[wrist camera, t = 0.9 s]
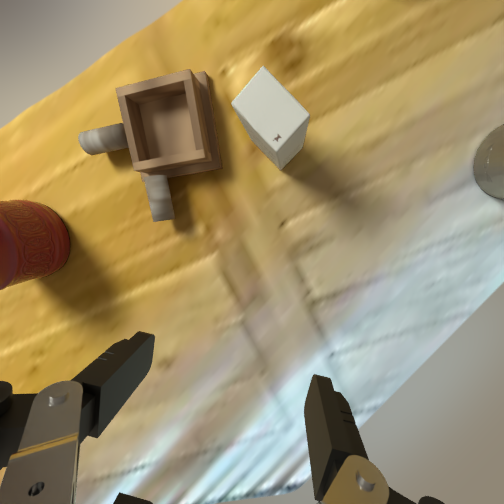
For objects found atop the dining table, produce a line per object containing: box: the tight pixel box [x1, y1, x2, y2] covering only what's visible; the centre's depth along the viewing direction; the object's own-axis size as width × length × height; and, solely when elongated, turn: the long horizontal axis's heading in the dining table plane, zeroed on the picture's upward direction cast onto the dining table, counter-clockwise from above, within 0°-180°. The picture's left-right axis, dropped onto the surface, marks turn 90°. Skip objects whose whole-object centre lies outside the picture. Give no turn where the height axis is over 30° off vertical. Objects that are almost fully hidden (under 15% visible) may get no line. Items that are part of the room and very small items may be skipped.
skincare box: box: [231, 66, 310, 170], centre depth 26 cm, size 6×4×12 cm
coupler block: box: [79, 69, 222, 222], centre depth 33 cm, size 18×18×4 cm
